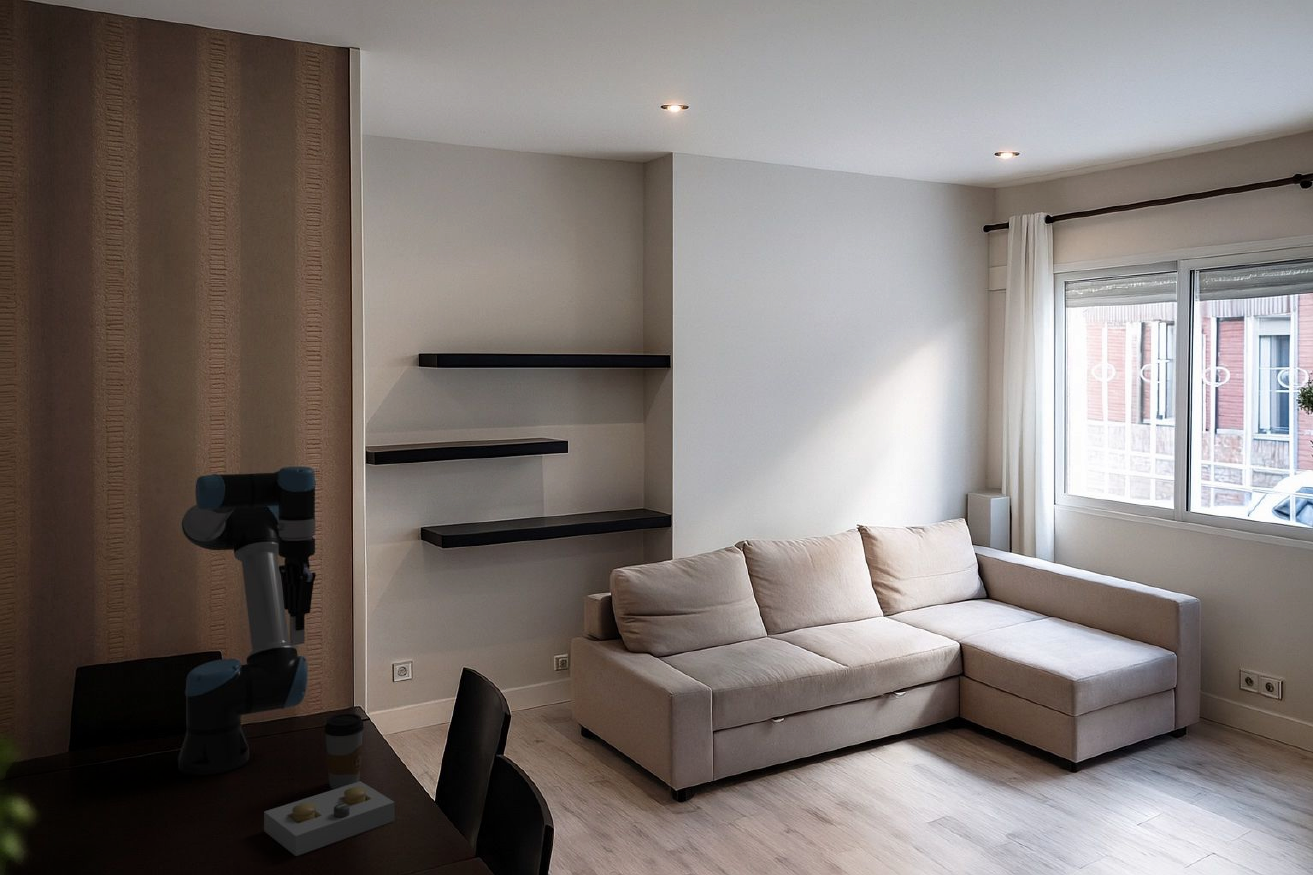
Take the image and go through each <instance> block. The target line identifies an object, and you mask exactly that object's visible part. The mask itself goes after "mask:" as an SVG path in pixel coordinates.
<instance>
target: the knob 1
mask: <svg viewBox="0 0 1313 875" xmlns="http://www.w3.org/2000/svg"><path fill="white" fill-rule="evenodd" d="M315 810H316V805H315V804H312V803H303V804H299V805H296V806H295V807H293V809H292V812H293V816H294V821H295V822H296V823H301V822H304V821H307V820H310V819H313V818H315Z"/></svg>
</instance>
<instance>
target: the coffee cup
mask: <svg viewBox="0 0 1313 875" xmlns="http://www.w3.org/2000/svg"><path fill="white" fill-rule="evenodd" d="M363 731H364V721H363V720H362V716H361V715H360V714H356V713H355V714H354V713H341V714H336V715H332V716H331V717H329V718H328V719H327V720H326V724H324V733H325V743H326V746H325V747H326V748H325V749H326V750H325V751H326V763H327V764H326V765H327V773H328V785H329V786H330V789H331V790H334V789H337V788H340V787H344V786H347V785H350V784H353V783H356V782H359V781H360V773H361V766H362V764H361V763H362V753H363V752H362V750H363V745H362V744H363V734H364V732H363Z"/></svg>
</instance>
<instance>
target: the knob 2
mask: <svg viewBox="0 0 1313 875" xmlns="http://www.w3.org/2000/svg"><path fill="white" fill-rule="evenodd" d="M365 794H366V789H365V788H363V787H353V788H349V789H347V790H345V791H344V796H345V803H346V804H348V805H349V806H352V805H355V804H358V803H361V802H364V801H365Z"/></svg>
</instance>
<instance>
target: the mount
mask: <svg viewBox="0 0 1313 875" xmlns="http://www.w3.org/2000/svg"><path fill="white" fill-rule="evenodd" d="M353 787H363V788H365V789H366V794H365V801H364V802H361V803H358V804H355V805H352V806H349V805H348V804H346V803H345V796H344V791H345V790H347V789H349V788H353ZM303 803H312V804H315V805H316V810H315V818H313V819H310V820H307V821H304V822H301V823H296V822H295V821H294V816H293V812H292V809H293V807H295V806H296V805H299V804H303ZM263 814H264V815H263V817H264V818H263V821H264V822H263V831H264V832H265V834H267V835H268V836H270V837H271V838H273V839H274V840H275V841H276V842H277V843H279V845H281V846H282V847H283V848H285V849H286V851H289V853H291V854H293V855H294V856H295V857H299V856H301V855H304V854H307V853H309V852H312V851H315V850H317V849H321V848H323V847H325V846H329V845H330V844H331V845H332V844H334V843H337V842H340V841H343V840H346V839H348V838H351V837H353V836H357V835H359V834H362V833H365V832H367V831H370V830H373V829H376V828H379V827H382V826H384V825H387V824H389V823H392V822H395V801H393V800H392V799H391V798H388V797H387V796H386V795H384V794H382V793H380V792H379V791H377V790H375V789H374V788H372V787H370V786H369V785H368V784H366V783H364V782H362V781H360V780H359V782H356V783H353V784H350V785H347V786H344V787H340V788H337V789H330V790H329V791H325V792H321V793H319V794H315V795H313V796H309V797H306V798H302V799H300V800H297V801H293V802H291V803H287V804H284V805H281V806H277V807H274V808H271V809H268V810H265V811H263Z"/></svg>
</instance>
